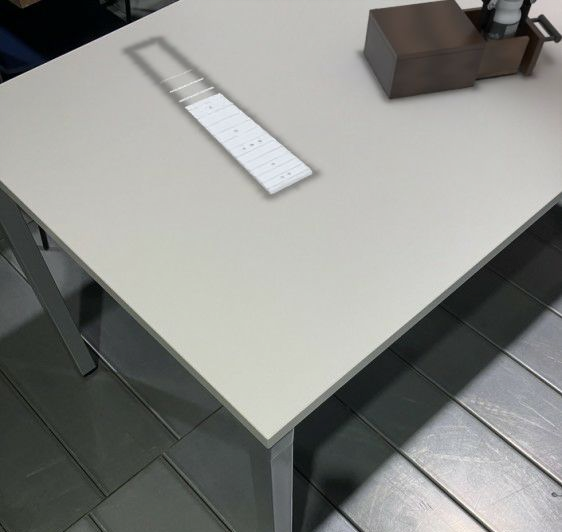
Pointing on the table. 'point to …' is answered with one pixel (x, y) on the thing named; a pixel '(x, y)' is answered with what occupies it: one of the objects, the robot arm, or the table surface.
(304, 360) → the table surface
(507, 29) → the pill bottle
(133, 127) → the table surface
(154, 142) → the table surface
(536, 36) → the drawer
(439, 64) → the cabinet
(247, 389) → the table surface
